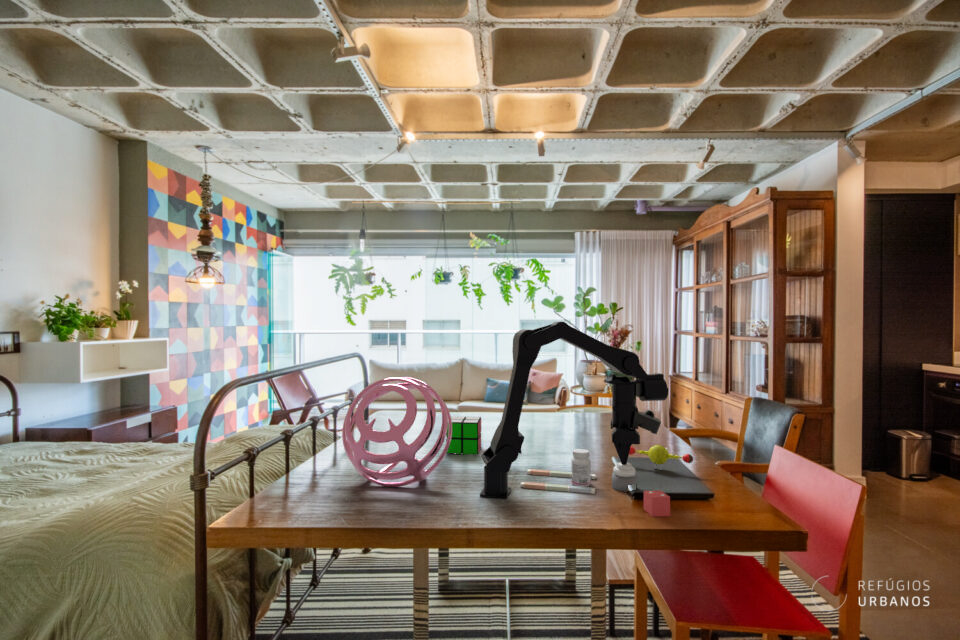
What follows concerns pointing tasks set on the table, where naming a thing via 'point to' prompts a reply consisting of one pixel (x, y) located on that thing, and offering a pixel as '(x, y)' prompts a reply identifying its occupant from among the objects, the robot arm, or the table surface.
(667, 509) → the red die
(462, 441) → the puzzle cube
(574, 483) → the pill bottle
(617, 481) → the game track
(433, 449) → the pink openwork sphere
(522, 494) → the table surface
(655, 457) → the molecule model
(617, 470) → the dome
